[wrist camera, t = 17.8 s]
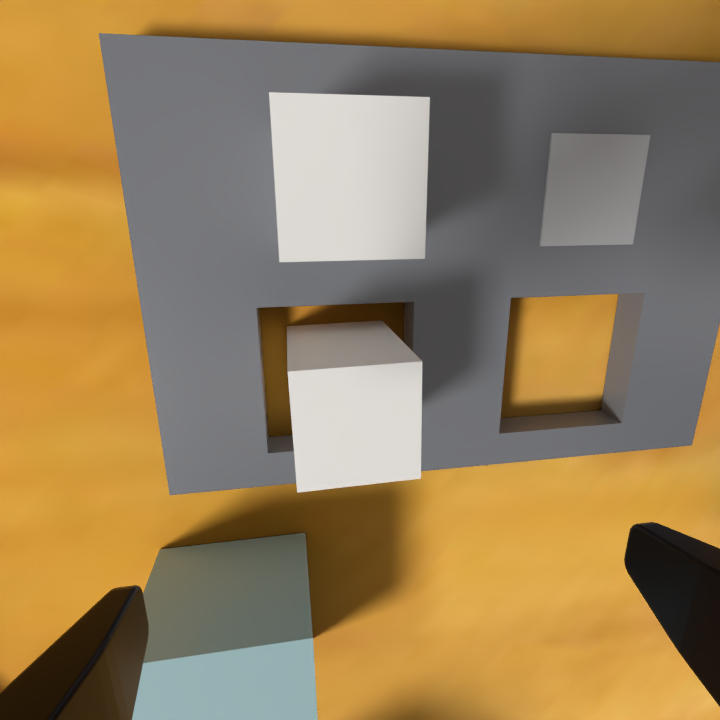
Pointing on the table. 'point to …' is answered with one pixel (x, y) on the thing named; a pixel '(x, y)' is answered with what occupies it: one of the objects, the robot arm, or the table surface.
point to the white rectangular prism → (353, 405)
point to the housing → (229, 633)
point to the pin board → (464, 242)
